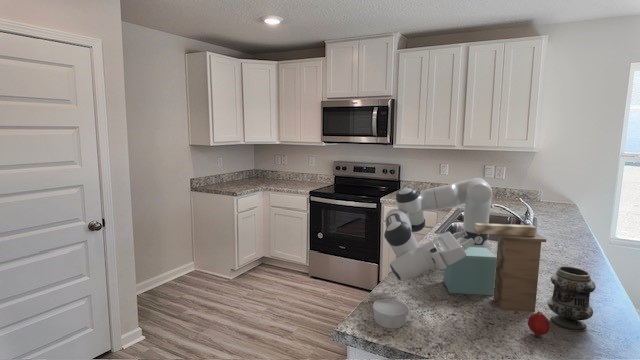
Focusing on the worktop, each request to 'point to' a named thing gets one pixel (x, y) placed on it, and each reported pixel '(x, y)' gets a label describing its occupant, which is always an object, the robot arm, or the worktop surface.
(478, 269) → the low block
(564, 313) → the apothecary jar
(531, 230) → the rod
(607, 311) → the worktop surface
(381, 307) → the ramekin
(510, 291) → the tall stand
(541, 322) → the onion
